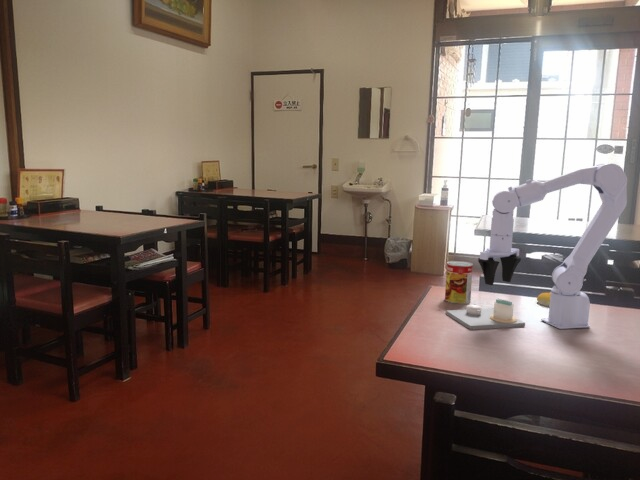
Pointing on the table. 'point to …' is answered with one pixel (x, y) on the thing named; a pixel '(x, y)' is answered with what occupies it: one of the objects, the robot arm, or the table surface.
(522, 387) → the table surface
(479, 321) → the post board
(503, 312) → the cap
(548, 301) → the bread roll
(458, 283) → the canned food
